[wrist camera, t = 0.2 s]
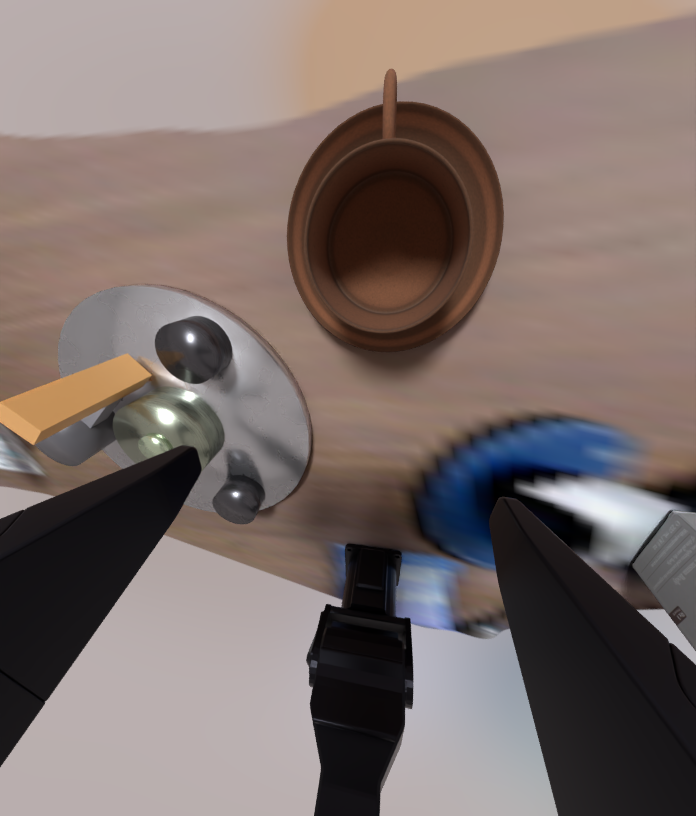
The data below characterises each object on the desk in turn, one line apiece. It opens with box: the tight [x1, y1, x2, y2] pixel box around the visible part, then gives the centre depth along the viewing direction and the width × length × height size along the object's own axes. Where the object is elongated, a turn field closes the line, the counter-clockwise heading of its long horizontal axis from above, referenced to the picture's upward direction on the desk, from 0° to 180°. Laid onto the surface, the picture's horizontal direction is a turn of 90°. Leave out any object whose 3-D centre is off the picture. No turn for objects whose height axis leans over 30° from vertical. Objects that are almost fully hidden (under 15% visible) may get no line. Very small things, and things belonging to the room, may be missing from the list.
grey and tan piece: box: [0, 353, 152, 466], centre depth 22 cm, size 12×5×8 cm, turn 131°
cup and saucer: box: [287, 69, 504, 352], centre depth 15 cm, size 12×12×6 cm
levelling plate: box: [58, 284, 312, 524], centre depth 25 cm, size 24×24×5 cm
